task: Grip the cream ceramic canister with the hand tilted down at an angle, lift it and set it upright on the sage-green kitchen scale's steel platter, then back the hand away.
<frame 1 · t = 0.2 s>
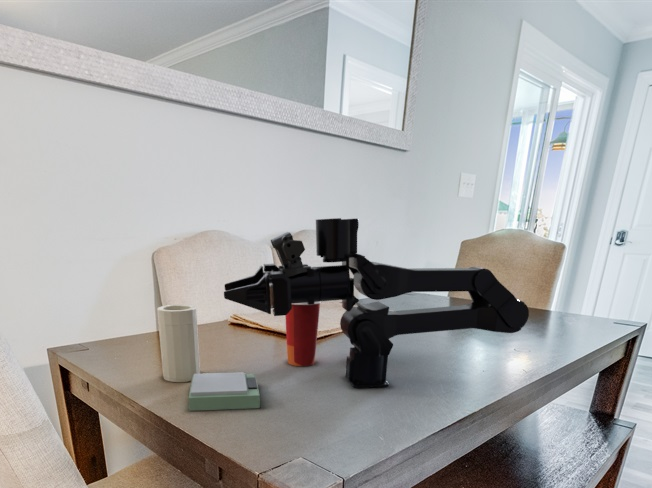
hand: (224, 290, 76), 17 cm above the table, tool horizontal, fingers open, 9 cm apart
paper cup: (300, 363, 97), on the table
scale: (224, 397, 77), on the table
food container: (368, 360, 99), on the table
canister: (181, 376, 87), on the table
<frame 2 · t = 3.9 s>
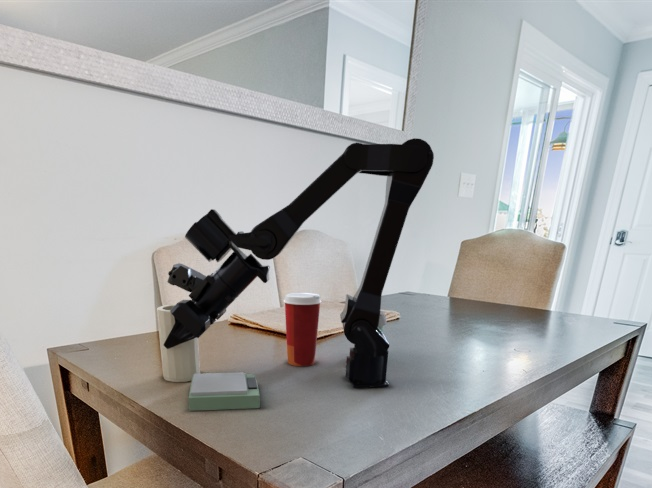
hand: (171, 342, 85), 7 cm above the table, tool tilted 45°, fingers closed on canister, 7 cm apart
canister: (181, 376, 87), on the table, touching gripper
everything else where it was.
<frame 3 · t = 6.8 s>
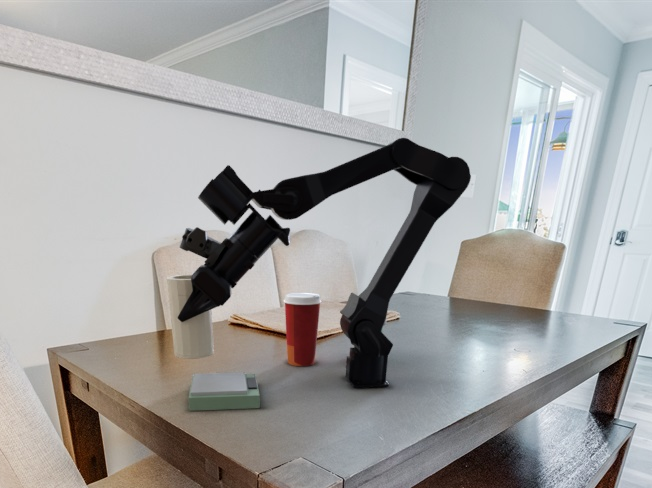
hand: (182, 315, 78), 13 cm above the table, tool tilted 45°, fingers closed on canister, 7 cm apart
canister: (194, 353, 81), point 6 cm above the table, touching gripper
everything else where it was.
when the fingers open (9 cm above the table, at t = 9.7 s): canister stays where it is, resting on scale.
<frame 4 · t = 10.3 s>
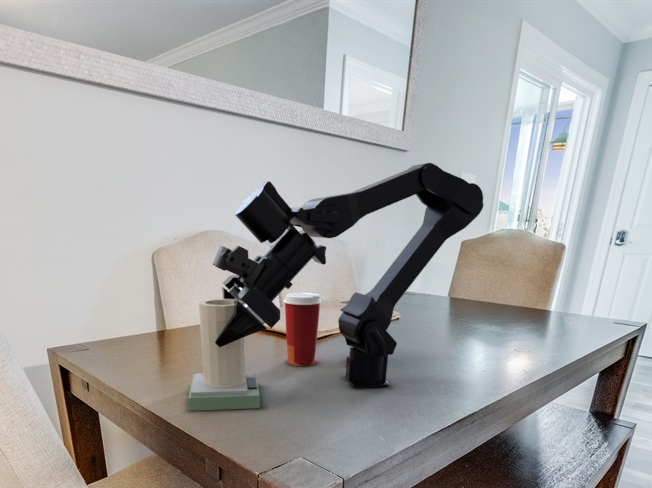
hand: (213, 338, 73), 10 cm above the table, tool tilted 45°, fingers open, 9 cm apart
canister: (224, 381, 76), point 3 cm above the table, touching scale
everything else where it was.
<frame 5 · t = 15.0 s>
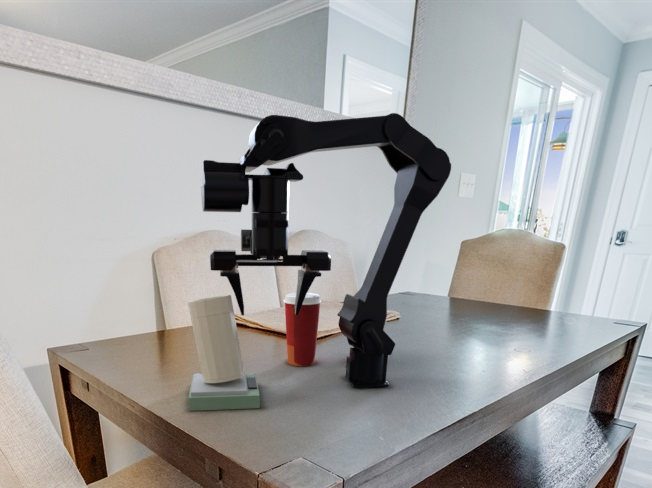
hand: (269, 314, 76), 13 cm above the table, tool pointing down, fingers open, 9 cm apart
canister: (224, 377, 76), point 3 cm above the table, tilted 10°, touching gripper, scale
everything else where it was.
at the end: canister inside the target area on the scale (0.3 cm from its centre), point 3.4 cm above the scale's base; canister tilted 10°; the gripper is holding nothing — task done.
